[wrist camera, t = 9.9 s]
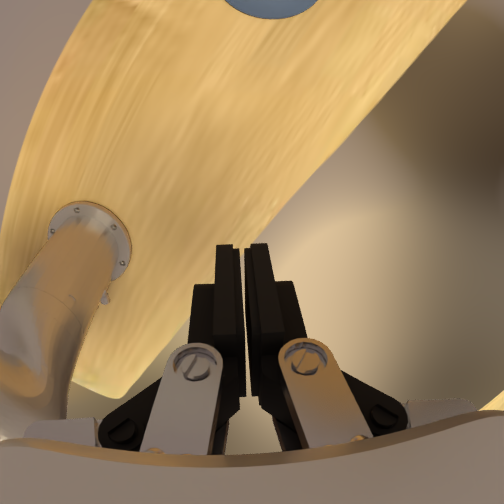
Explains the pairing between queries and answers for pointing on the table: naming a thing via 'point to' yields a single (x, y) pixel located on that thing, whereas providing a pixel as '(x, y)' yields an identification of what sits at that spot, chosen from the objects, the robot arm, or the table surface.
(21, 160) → the table surface
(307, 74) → the table surface
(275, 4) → the disc
